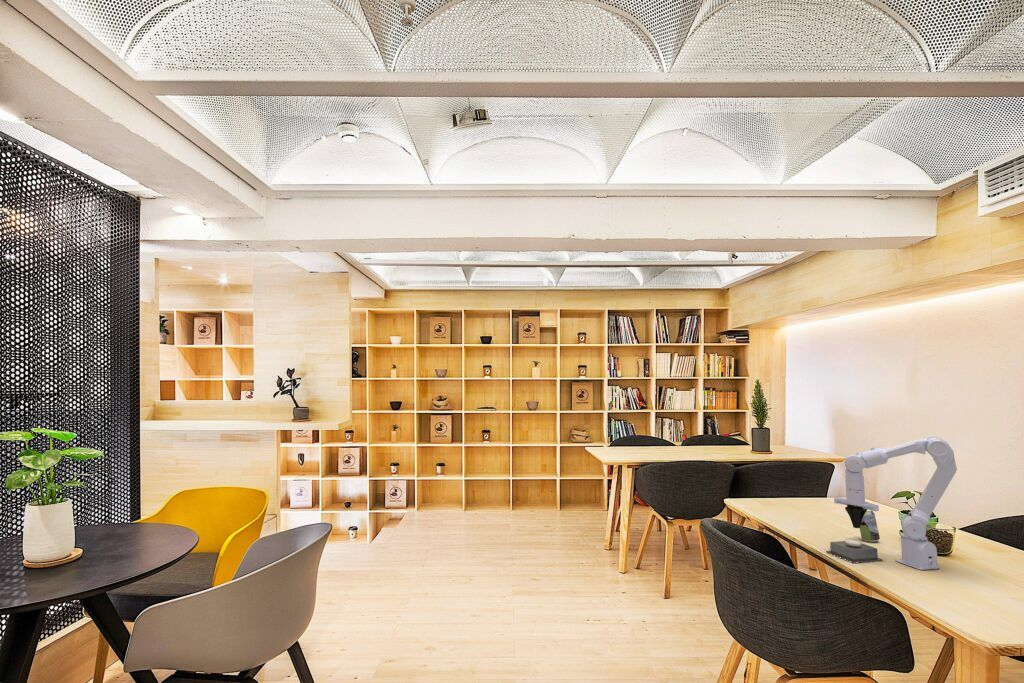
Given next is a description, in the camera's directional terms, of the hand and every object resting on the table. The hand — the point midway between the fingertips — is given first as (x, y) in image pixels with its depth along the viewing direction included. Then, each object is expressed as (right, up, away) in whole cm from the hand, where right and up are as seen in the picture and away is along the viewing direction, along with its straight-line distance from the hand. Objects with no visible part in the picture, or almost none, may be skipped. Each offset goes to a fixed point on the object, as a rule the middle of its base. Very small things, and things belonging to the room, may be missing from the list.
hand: (856, 527), depth 194 cm
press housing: (-2, -10, -2) cm, 10 cm away
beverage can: (+16, -11, +18) cm, 26 cm away
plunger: (-2, -9, -2) cm, 9 cm away
